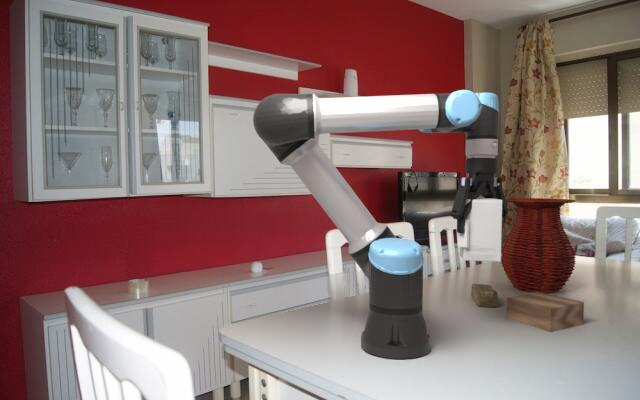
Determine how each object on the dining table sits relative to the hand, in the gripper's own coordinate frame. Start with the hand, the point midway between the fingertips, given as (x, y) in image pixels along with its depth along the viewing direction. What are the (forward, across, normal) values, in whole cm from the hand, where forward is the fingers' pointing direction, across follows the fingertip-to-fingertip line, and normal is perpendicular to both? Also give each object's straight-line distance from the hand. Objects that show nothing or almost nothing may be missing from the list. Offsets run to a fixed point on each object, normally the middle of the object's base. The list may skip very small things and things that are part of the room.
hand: (479, 244), depth 123 cm
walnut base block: (+21, +18, -7) cm, 29 cm away
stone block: (+21, +22, +14) cm, 34 cm away
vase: (+21, +52, +16) cm, 58 cm away
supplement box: (+4, 0, 0) cm, 4 cm away
